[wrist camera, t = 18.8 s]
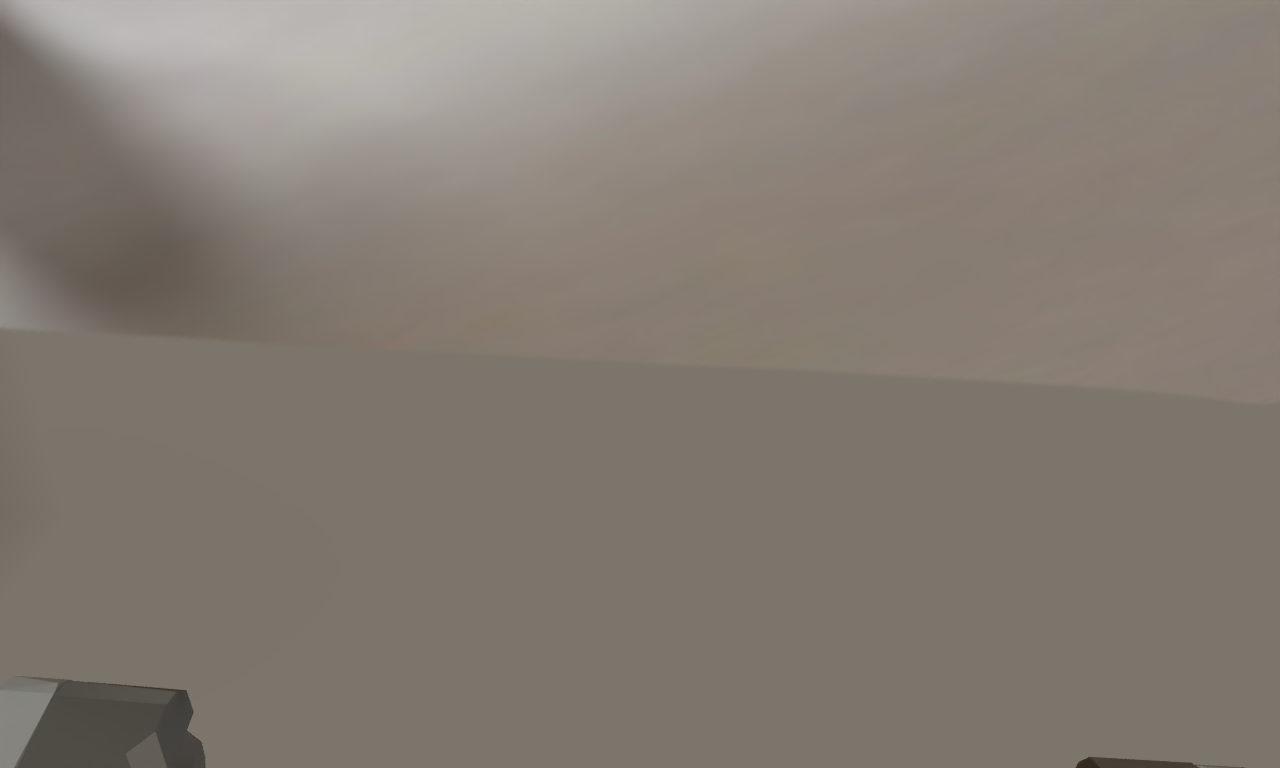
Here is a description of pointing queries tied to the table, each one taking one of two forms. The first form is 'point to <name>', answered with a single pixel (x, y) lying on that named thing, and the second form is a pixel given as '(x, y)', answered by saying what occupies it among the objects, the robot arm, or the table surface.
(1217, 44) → the table surface
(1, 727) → the robot arm
